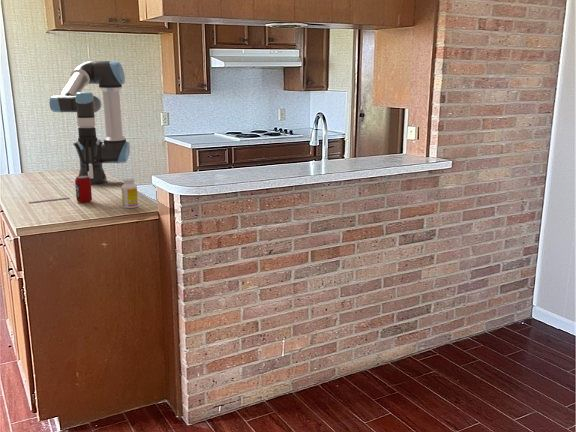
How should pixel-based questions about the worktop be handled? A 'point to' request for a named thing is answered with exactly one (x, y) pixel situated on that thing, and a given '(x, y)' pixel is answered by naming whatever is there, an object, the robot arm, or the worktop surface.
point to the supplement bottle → (129, 193)
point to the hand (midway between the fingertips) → (90, 178)
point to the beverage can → (83, 189)
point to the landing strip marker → (49, 200)
